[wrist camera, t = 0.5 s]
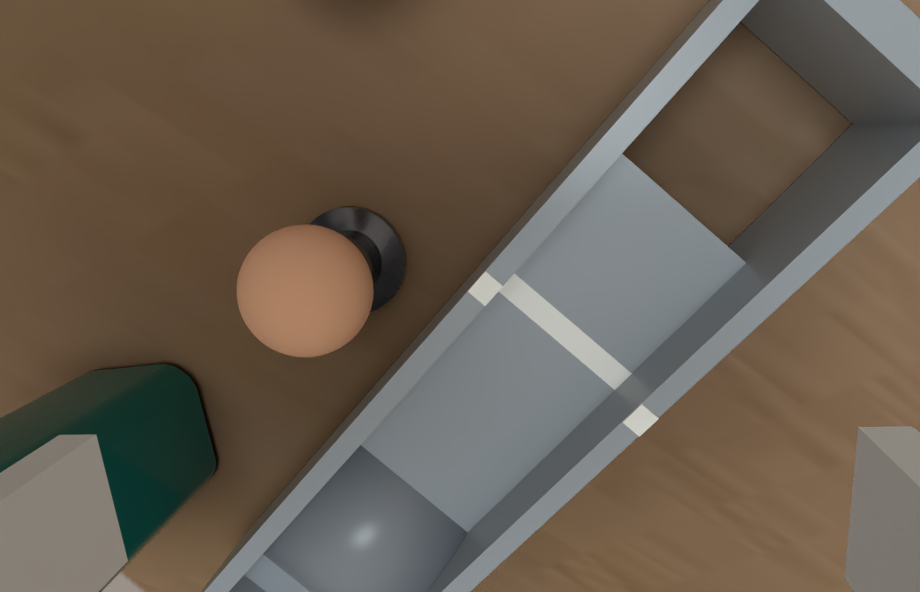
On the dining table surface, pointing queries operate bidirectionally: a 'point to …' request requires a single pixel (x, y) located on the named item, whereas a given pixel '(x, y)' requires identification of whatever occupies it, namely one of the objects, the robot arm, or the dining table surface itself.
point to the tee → (371, 247)
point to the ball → (305, 290)
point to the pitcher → (126, 441)
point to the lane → (586, 324)
